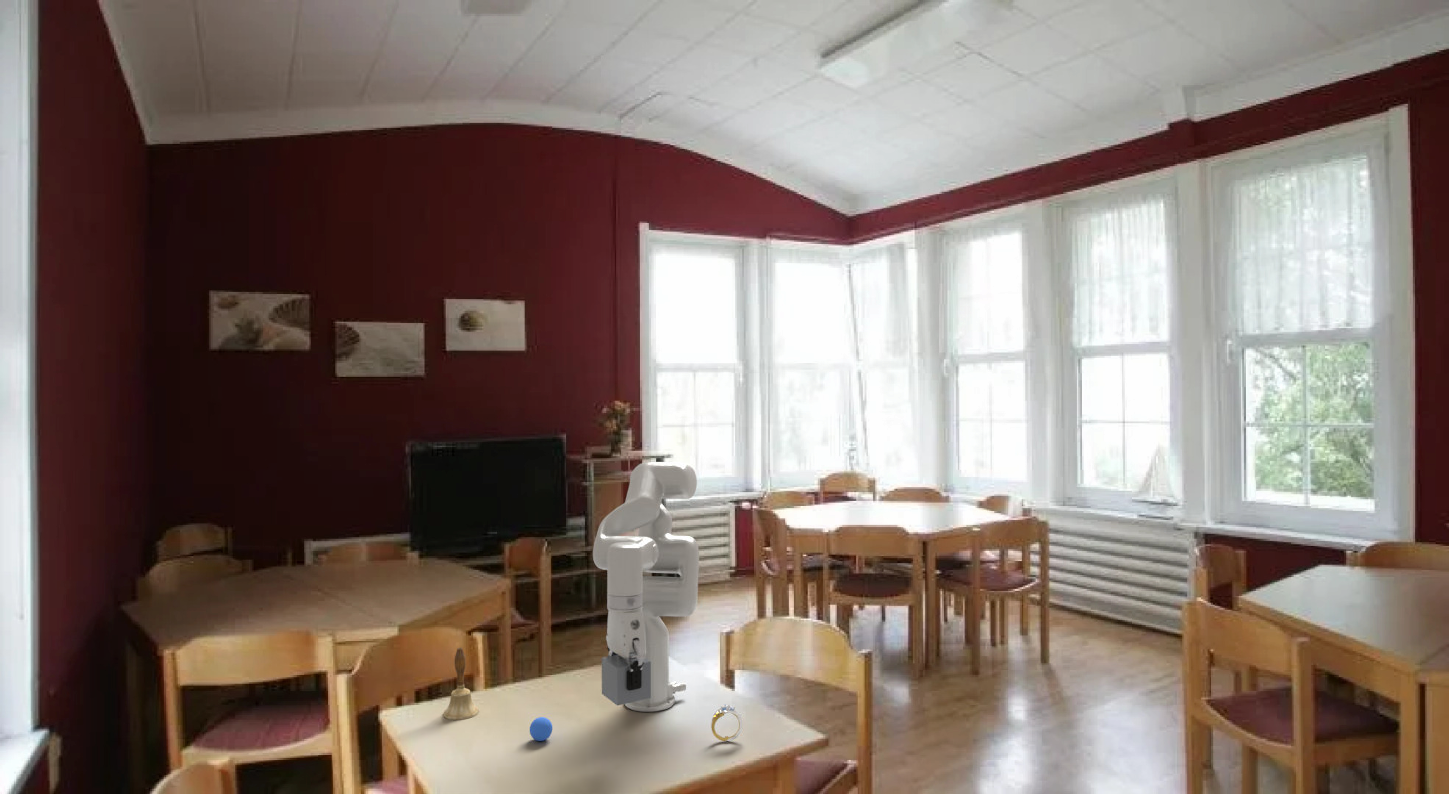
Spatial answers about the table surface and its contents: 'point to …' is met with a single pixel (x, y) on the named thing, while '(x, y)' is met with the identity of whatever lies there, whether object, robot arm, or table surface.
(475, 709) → the hand bell
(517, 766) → the table surface
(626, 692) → the grey cube
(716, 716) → the ring
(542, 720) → the ball
